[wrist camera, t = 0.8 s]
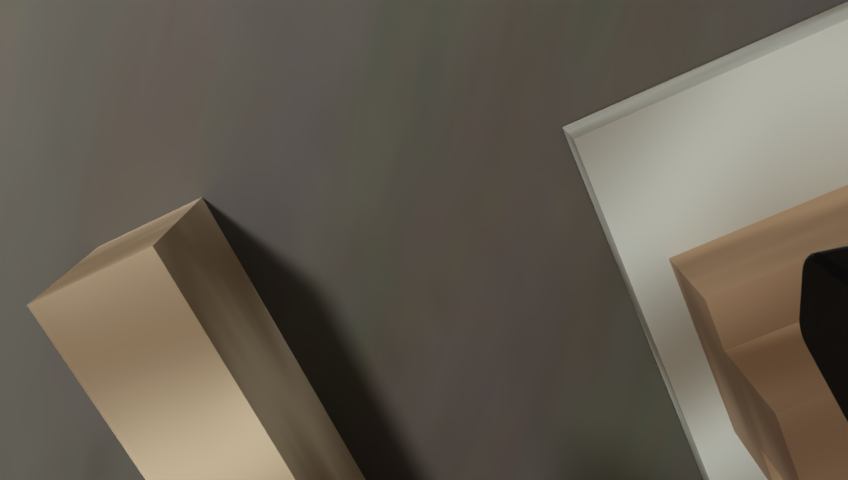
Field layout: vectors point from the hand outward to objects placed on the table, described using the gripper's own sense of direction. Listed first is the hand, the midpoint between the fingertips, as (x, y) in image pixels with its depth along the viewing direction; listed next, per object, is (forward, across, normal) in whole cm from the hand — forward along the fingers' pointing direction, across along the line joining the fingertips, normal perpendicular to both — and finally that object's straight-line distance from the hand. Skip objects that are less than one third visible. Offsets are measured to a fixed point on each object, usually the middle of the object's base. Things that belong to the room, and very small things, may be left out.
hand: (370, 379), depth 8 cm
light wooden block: (+10, +4, +11) cm, 15 cm away
